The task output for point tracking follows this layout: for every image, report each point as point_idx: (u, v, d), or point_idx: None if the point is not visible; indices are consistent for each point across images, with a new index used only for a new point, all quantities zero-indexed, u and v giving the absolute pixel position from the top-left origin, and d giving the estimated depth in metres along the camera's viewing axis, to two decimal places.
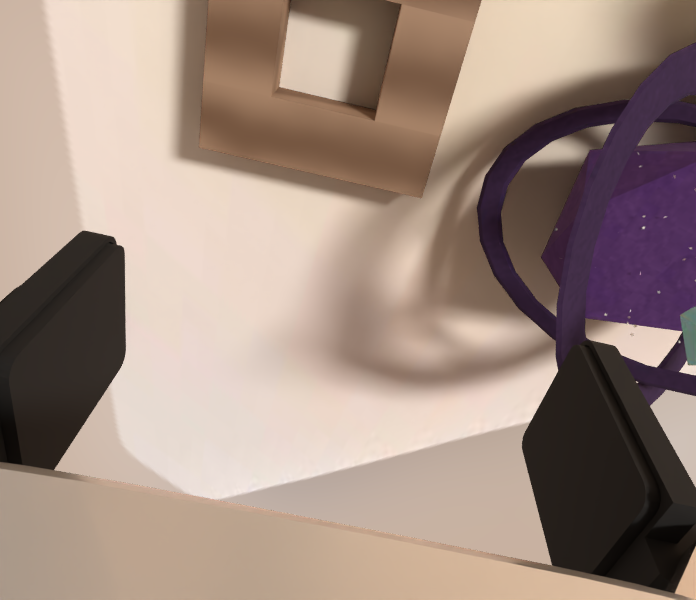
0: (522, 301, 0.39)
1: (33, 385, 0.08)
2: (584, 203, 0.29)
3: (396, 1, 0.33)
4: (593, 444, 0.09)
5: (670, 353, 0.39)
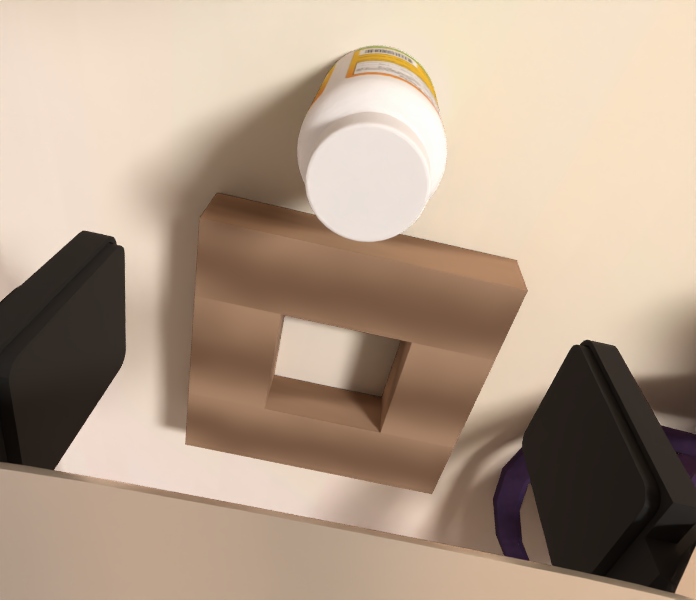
0: None
1: (33, 385, 0.08)
2: None
3: (405, 340, 0.29)
4: (593, 444, 0.09)
5: None
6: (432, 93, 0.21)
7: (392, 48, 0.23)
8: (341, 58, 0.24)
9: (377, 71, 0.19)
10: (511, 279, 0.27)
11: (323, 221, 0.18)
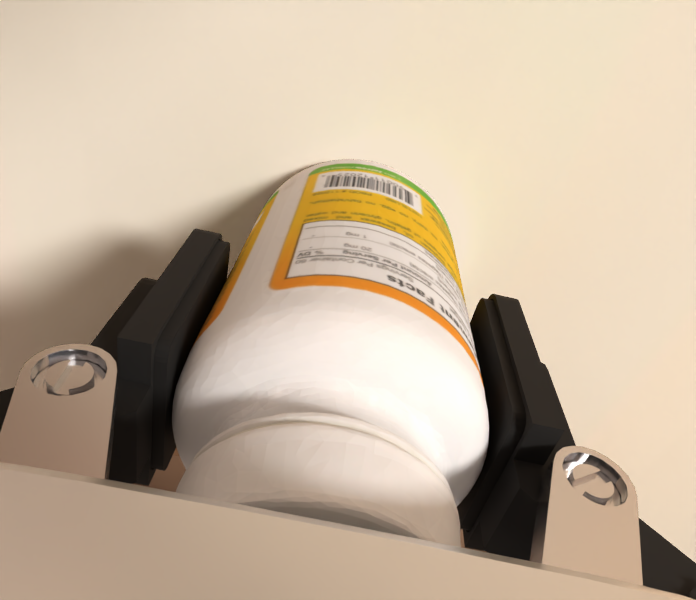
0: None
1: (177, 366, 0.09)
2: None
3: None
4: (485, 384, 0.10)
5: None
6: (452, 274, 0.11)
7: (376, 168, 0.13)
8: (287, 182, 0.13)
9: (339, 270, 0.09)
10: None
11: None
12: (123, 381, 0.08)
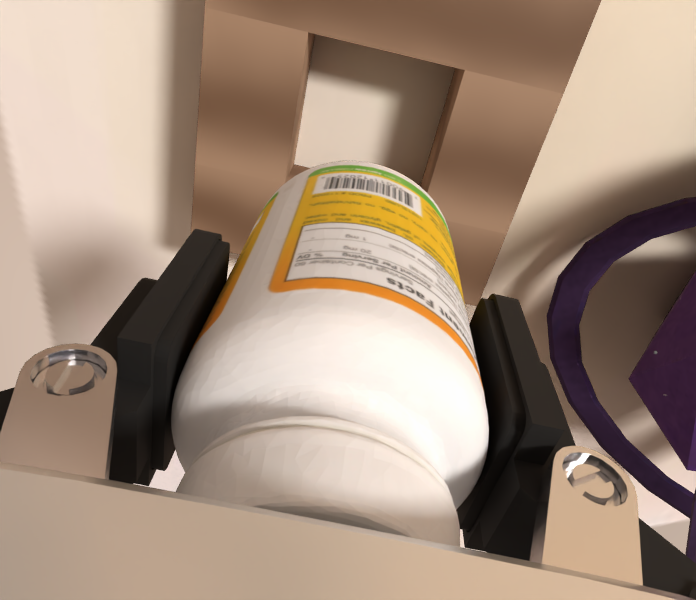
0: (607, 440, 0.30)
1: (177, 366, 0.09)
2: None
3: (457, 66, 0.24)
4: (485, 384, 0.10)
5: None
6: (452, 277, 0.11)
7: (376, 170, 0.13)
8: (287, 183, 0.13)
9: (338, 272, 0.09)
10: None
11: None
12: (123, 381, 0.08)
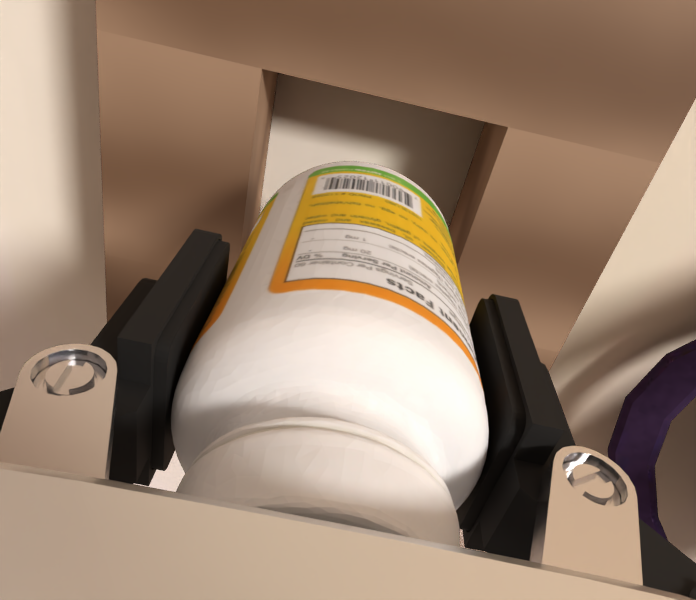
0: None
1: (177, 366, 0.09)
2: None
3: (496, 121, 0.15)
4: (485, 384, 0.10)
5: None
6: (452, 277, 0.11)
7: (376, 170, 0.13)
8: (287, 184, 0.13)
9: (338, 273, 0.09)
10: None
11: None
12: (123, 381, 0.08)
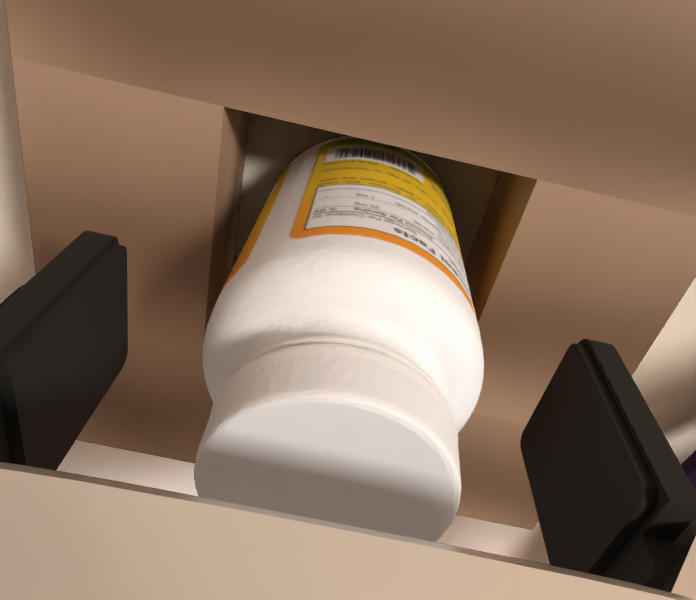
0: None
1: (37, 384, 0.08)
2: None
3: (523, 172, 0.12)
4: (590, 442, 0.09)
5: None
6: (451, 235, 0.12)
7: (382, 143, 0.14)
8: (299, 156, 0.15)
9: (351, 222, 0.10)
10: None
11: None
12: None
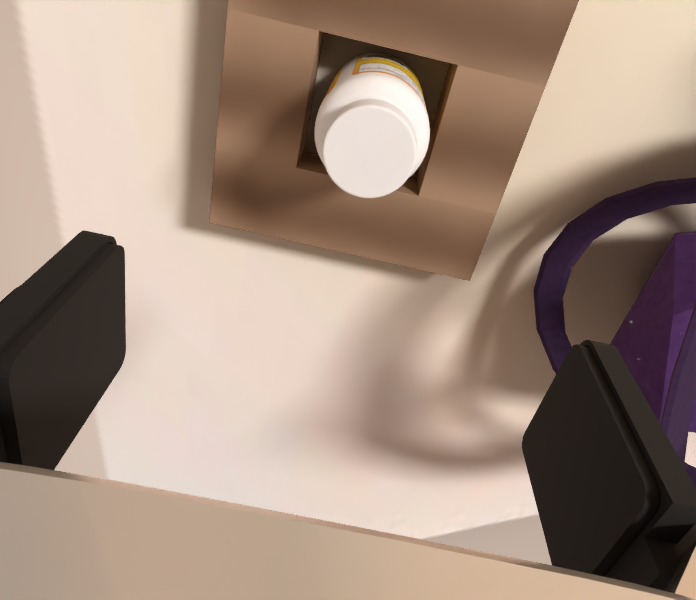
0: None
1: (33, 385, 0.08)
2: (695, 324, 0.23)
3: (451, 61, 0.27)
4: (593, 444, 0.09)
5: None
6: (419, 88, 0.27)
7: (387, 55, 0.29)
8: (347, 62, 0.30)
9: (376, 70, 0.25)
10: None
11: (335, 181, 0.24)
12: None
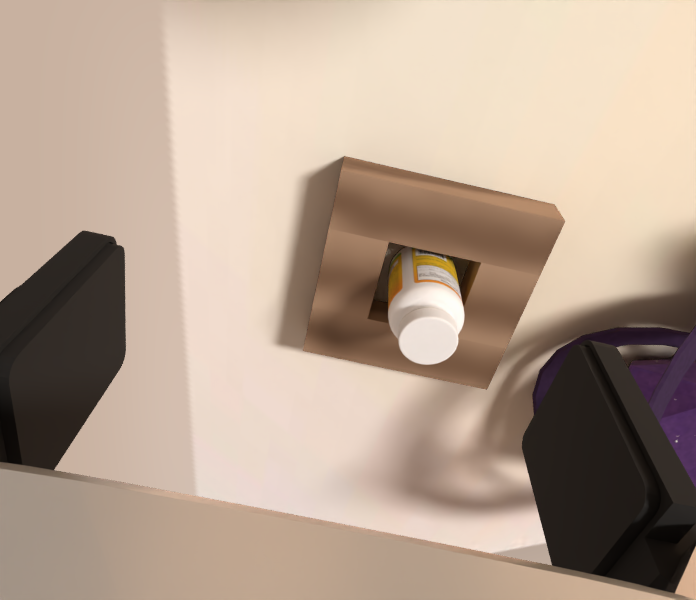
0: None
1: (33, 385, 0.08)
2: None
3: (477, 260, 0.41)
4: (593, 444, 0.09)
5: None
6: (455, 279, 0.41)
7: None
8: (403, 250, 0.43)
9: (430, 278, 0.38)
10: (553, 214, 0.39)
11: (406, 355, 0.37)
12: None
